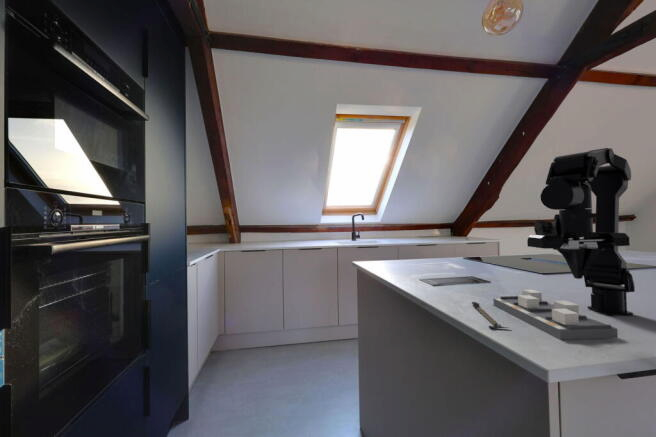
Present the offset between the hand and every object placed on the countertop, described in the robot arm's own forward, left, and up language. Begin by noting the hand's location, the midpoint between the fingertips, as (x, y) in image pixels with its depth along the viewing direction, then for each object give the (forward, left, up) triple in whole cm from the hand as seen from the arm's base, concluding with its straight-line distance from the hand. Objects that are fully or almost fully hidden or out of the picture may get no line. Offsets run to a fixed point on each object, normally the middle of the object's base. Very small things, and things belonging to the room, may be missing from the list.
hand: (577, 278), depth 66 cm
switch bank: (+2, -8, -12) cm, 14 cm away
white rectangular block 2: (-1, -5, -9) cm, 11 cm away
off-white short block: (+4, +1, -9) cm, 10 cm away
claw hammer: (+14, -11, -12) cm, 22 cm away
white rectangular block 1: (-1, -17, -9) cm, 19 cm away
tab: (+4, -11, -9) cm, 15 cm away
